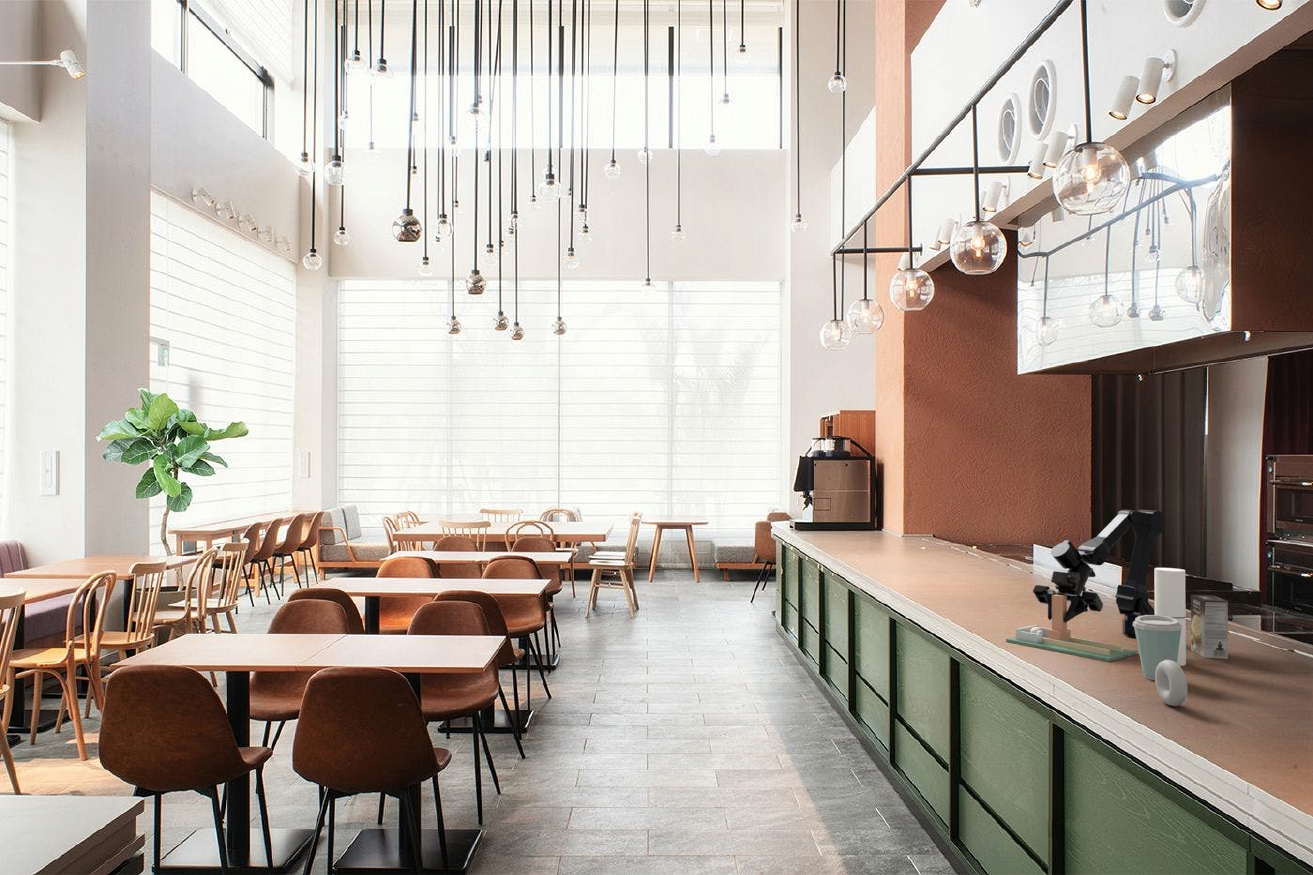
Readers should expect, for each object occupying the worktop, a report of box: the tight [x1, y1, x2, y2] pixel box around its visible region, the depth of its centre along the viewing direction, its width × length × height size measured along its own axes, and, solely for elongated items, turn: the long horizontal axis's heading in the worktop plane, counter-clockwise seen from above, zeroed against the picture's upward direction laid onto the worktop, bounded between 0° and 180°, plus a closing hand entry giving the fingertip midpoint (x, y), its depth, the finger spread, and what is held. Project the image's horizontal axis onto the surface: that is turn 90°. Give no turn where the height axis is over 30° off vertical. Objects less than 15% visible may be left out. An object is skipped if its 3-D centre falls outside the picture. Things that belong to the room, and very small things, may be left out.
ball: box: [1030, 626, 1042, 634], centre depth 253 cm, size 4×4×4 cm
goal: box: [1015, 624, 1052, 644], centre depth 253 cm, size 12×8×4 cm
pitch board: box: [1005, 636, 1138, 663], centre depth 245 cm, size 16×30×2 cm, turn 37°
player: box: [1048, 595, 1072, 642], centre depth 248 cm, size 6×4×14 cm, turn 127°
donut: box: [1154, 660, 1188, 707], centre depth 189 cm, size 10×4×10 cm, turn 174°
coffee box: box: [1190, 594, 1229, 660], centre depth 238 cm, size 9×6×16 cm
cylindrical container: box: [1153, 567, 1187, 667], centre depth 229 cm, size 7×7×25 cm
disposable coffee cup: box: [1133, 615, 1182, 681], centre depth 212 cm, size 11×11×15 cm
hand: (1056, 620), depth 247 cm, fingers open, 4 cm apart
